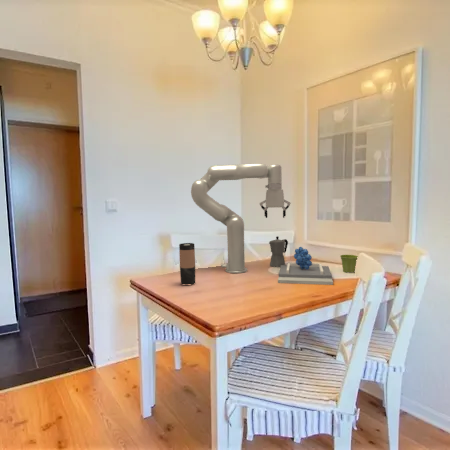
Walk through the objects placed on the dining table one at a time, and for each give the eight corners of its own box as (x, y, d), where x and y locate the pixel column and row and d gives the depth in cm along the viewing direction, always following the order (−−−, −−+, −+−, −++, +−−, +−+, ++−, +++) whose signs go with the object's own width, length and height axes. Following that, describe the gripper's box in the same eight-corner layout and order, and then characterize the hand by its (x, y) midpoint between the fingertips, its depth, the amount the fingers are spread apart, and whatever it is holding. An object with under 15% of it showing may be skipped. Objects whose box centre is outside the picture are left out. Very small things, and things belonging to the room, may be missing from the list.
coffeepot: (275, 268, 199) (274, 238, 198) (264, 266, 207) (263, 236, 205) (293, 264, 208) (293, 235, 206) (282, 262, 216) (282, 234, 214)
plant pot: (359, 270, 189) (359, 255, 188) (356, 274, 181) (356, 258, 180) (342, 269, 194) (342, 254, 193) (338, 272, 186) (338, 256, 185)
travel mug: (198, 282, 172) (197, 243, 170) (190, 286, 165) (189, 245, 163) (185, 281, 175) (184, 242, 173) (177, 284, 168) (176, 244, 166)
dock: (277, 282, 167) (277, 273, 167) (281, 270, 194) (280, 262, 194) (333, 284, 161) (333, 275, 161) (328, 271, 189) (328, 263, 188)
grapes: (289, 268, 184) (288, 246, 183) (297, 266, 189) (297, 245, 188) (306, 272, 175) (306, 249, 174) (314, 270, 180) (314, 247, 179)
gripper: (258, 187, 188) (258, 218, 190) (290, 186, 184) (290, 218, 186) (260, 187, 195) (260, 217, 197) (290, 186, 191) (290, 217, 193)
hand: (275, 217), depth 191 cm, fingers open, 9 cm apart
